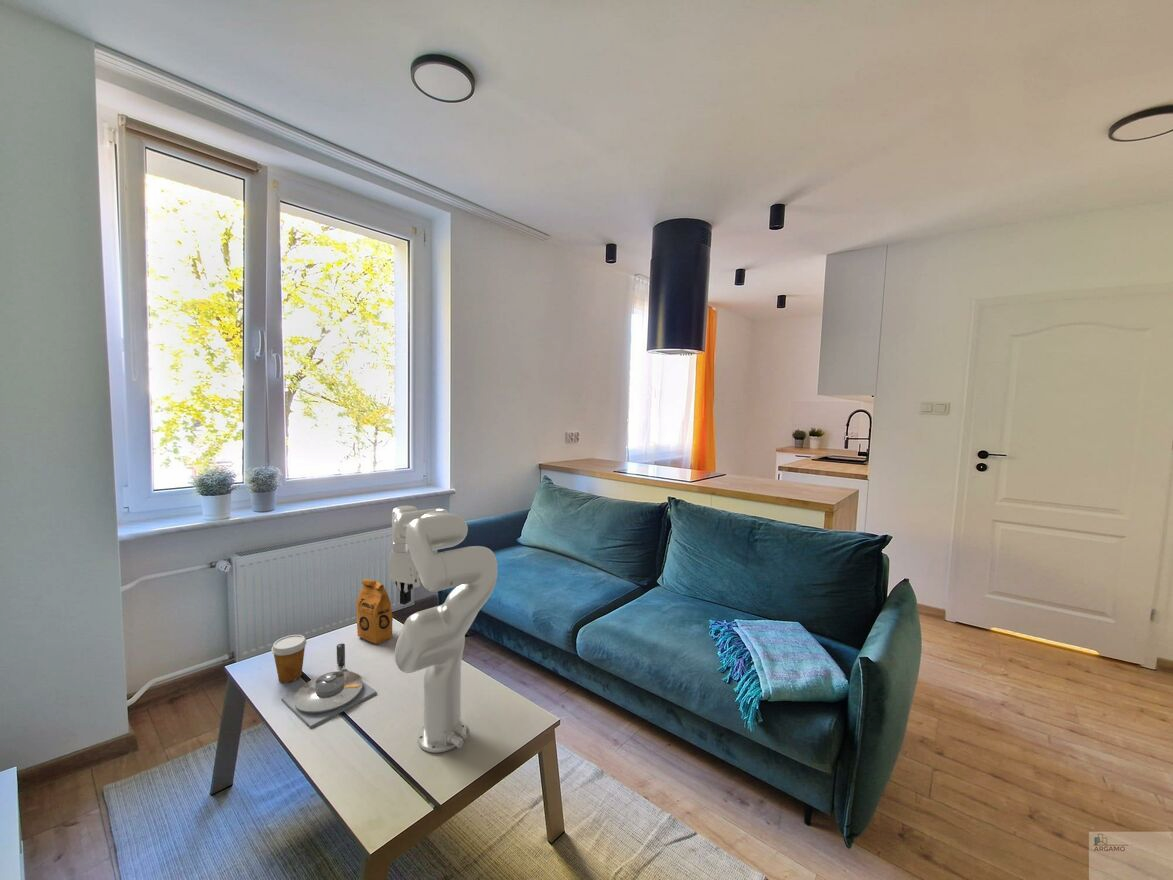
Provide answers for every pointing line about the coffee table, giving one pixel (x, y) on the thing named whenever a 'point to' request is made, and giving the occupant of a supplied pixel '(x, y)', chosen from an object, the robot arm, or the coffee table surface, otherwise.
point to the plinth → (318, 718)
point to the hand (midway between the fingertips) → (405, 602)
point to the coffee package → (374, 613)
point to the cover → (329, 684)
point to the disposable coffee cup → (289, 657)
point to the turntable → (313, 704)
